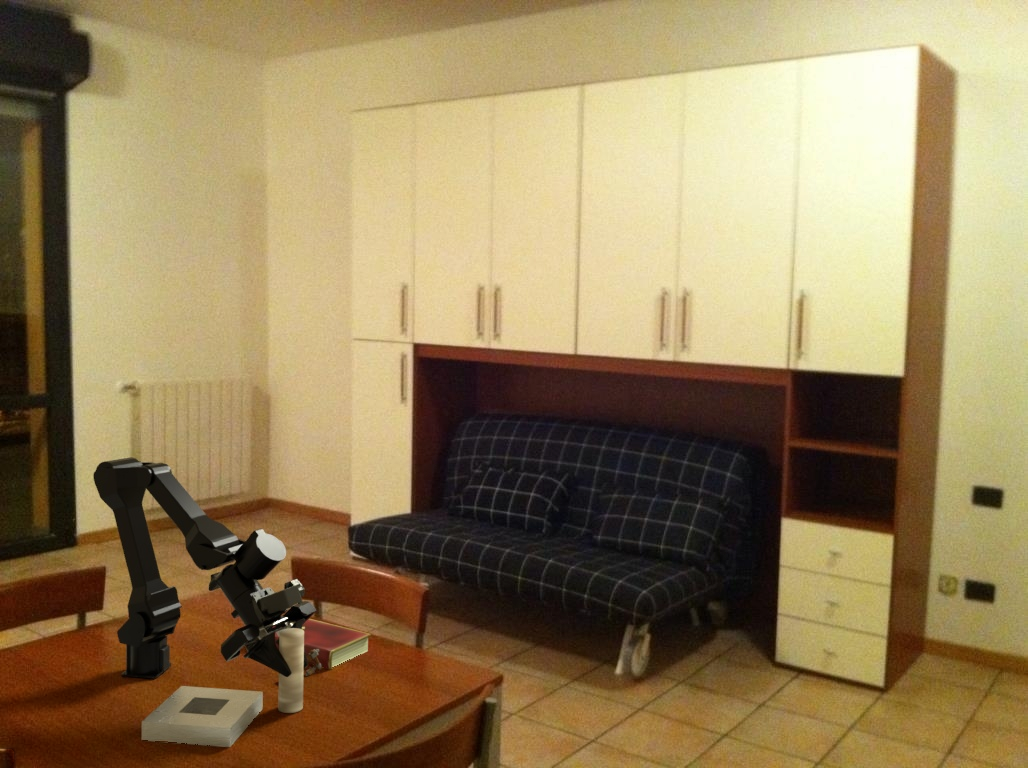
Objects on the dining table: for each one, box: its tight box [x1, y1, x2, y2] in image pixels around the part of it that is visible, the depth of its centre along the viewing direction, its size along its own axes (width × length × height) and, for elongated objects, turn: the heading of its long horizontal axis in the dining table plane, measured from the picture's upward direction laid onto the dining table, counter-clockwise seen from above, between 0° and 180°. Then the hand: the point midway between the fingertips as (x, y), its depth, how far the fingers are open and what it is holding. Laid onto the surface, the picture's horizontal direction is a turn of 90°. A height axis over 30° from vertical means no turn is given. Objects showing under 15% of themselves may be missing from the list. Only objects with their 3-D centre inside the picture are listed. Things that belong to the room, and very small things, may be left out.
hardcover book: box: [273, 618, 372, 670], centre depth 187 cm, size 12×21×4 cm, turn 61°
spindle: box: [277, 628, 305, 714], centre depth 159 cm, size 4×4×13 cm
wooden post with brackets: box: [304, 649, 323, 677], centre depth 174 cm, size 2×8×4 cm, turn 137°
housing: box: [141, 685, 264, 748], centre depth 153 cm, size 14×14×3 cm
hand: (297, 671), depth 159 cm, fingers closed on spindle, 4 cm apart
